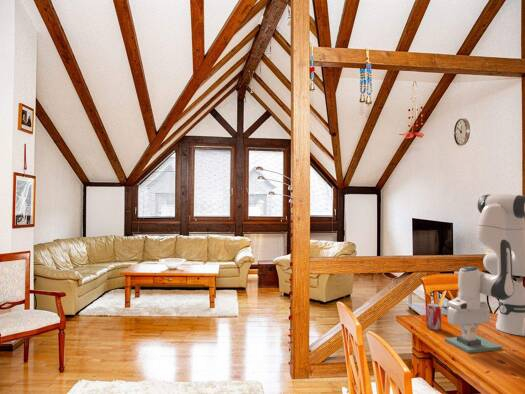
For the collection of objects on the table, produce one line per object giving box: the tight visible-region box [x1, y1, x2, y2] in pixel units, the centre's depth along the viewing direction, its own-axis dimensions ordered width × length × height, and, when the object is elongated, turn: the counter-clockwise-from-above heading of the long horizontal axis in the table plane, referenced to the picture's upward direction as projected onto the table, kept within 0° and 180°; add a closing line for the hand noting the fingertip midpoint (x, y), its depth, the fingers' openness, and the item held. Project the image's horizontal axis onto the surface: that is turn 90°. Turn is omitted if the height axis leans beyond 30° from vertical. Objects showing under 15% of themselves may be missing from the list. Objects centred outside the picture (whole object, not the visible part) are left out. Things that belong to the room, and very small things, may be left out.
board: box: [444, 334, 503, 354], centre depth 167 cm, size 18×14×3 cm
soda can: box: [425, 302, 442, 331], centre depth 189 cm, size 7×7×12 cm
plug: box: [461, 324, 477, 341], centre depth 166 cm, size 4×4×8 cm
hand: (468, 333), depth 167 cm, fingers closed on plug, 4 cm apart
